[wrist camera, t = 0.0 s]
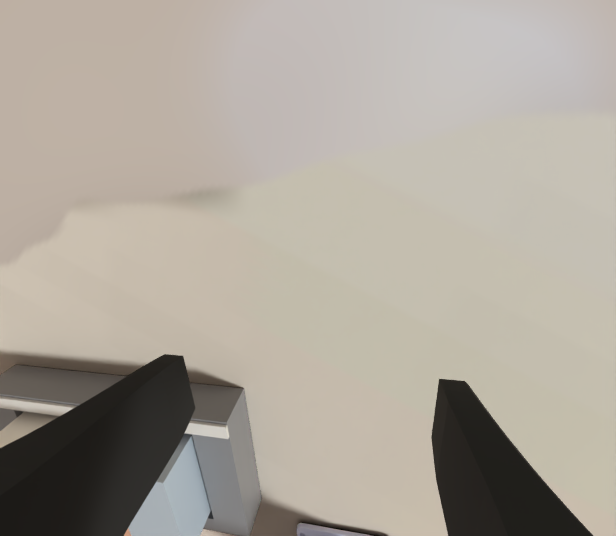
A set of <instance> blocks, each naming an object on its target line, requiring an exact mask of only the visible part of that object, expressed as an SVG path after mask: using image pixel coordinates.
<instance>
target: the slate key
mask: <svg viewBox="0 0 616 536" xmlns="http://www.w3.org/2000/svg"><path fill="white" fill-rule="evenodd" d="M210 511H211V507H210V503H209V499H208V495H207V491H206V487H205V483H204V480H203V476H202V472H201V468H200V464H199V460H198V456H197V452H196V449H195V445H194V441H193V437H192V435H191V434H184V435H183V437H182V439H181V441H180V443H179V445H178V447H177V448H176V450H175V452H174V453H173V455H172V457H171V458H170V460H169V462H168V463H167V465H166V467H165V468H164V470H163V472H162V473H161V475H160V477H159V478H158V480H157V481H156V483H155V485H154V486H153V488H152V490H151V491H150V493H149V495H148V496H147V498H146V499H145V501H144V503H143V504H142V506H141V508H140V509H139V511H138V512H137V514H136V516H135V517H134V519H133V521H132V522H131V524H130V526H129V527H128V529H129V531H130V534H131V536H200V535H201V532H202V530H203V528H204V525H205V523H206V521H207V518H208V516H209V514H210Z"/></svg>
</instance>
